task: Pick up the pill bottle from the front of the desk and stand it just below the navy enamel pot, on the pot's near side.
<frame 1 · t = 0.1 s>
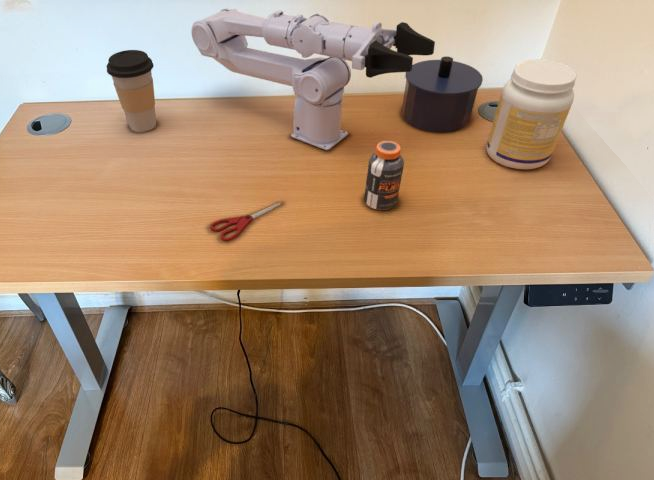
hand: (422, 56, 88), 22 cm above the table, tool horizontal, fingers open, 7 cm apart
scissors: (249, 221, 95), on the table
pot: (435, 115, 118), on the table
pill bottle: (380, 202, 97), on the table
coffee cup: (143, 126, 118), on the table
pot lid: (443, 77, 111), point 8 cm above the table, touching pot
supplement tub: (516, 155, 106), on the table
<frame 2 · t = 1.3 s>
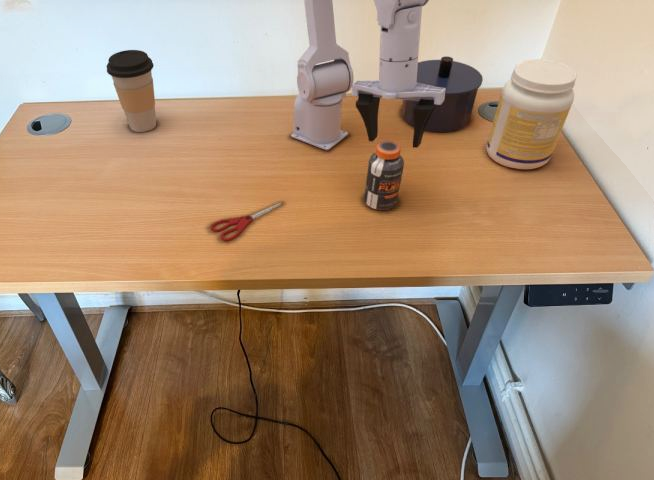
hand: (394, 142, 89), 12 cm above the table, tool pointing down, fingers open, 7 cm apart
nothing on the table moved.
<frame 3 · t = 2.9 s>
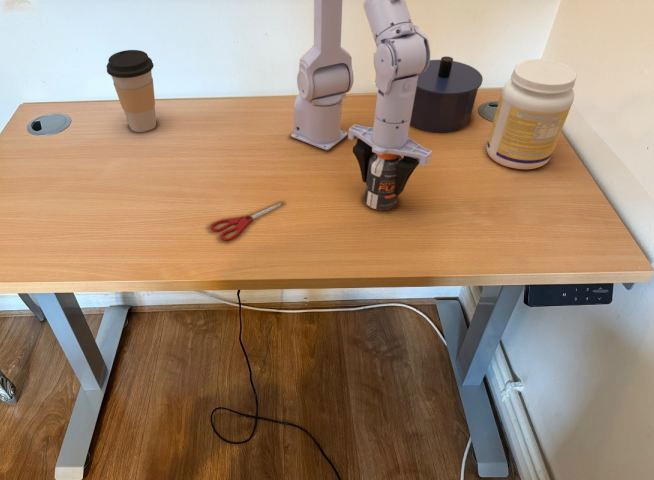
hand: (382, 185, 94), 3 cm above the table, tool pointing down, fingers closed on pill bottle, 6 cm apart
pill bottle: (380, 202, 97), on the table, touching gripper
everything else where it was.
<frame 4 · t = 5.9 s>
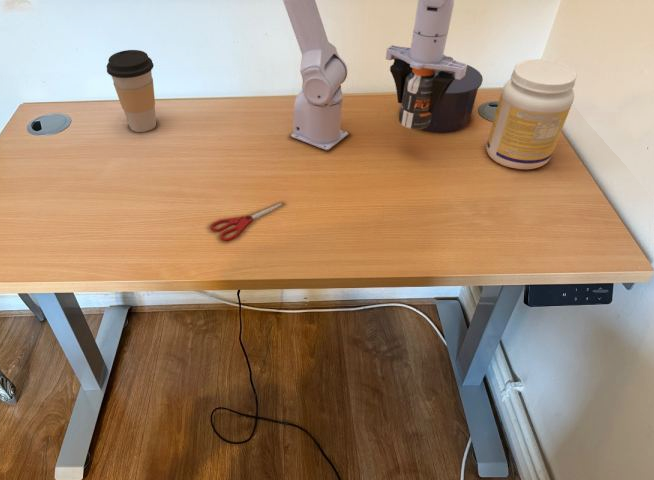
hand: (417, 105, 100), 10 cm above the table, tool pointing down, fingers closed on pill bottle, 6 cm apart
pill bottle: (414, 123, 102), point 7 cm above the table, touching gripper
everything else where it was.
when the fingers open (3 cm above the table, at t = 8.9 s): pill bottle stays where it is, on the table.
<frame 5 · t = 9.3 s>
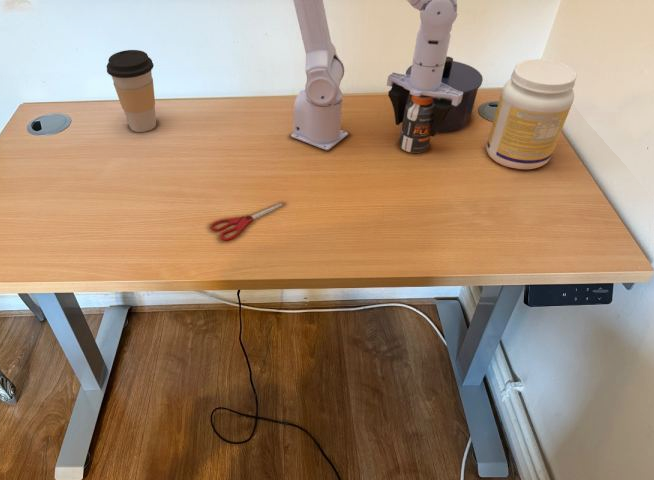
hand: (416, 128, 106), 4 cm above the table, tool pointing down, fingers open, 7 cm apart
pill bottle: (413, 146, 109), on the table
everything else where it was.
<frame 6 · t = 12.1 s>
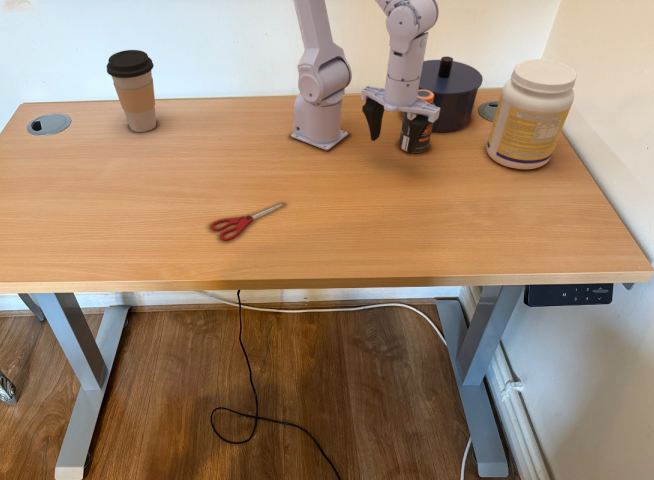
hand: (392, 144, 100), 5 cm above the table, tool pointing down, fingers open, 7 cm apart
nothing on the table moved.
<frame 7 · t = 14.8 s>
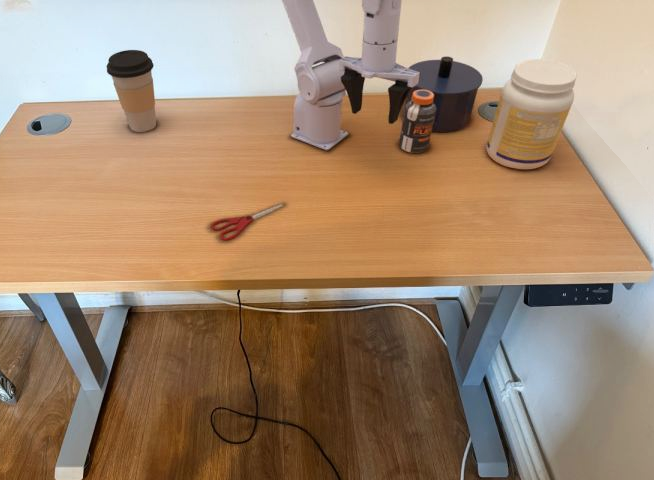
hand: (374, 116, 97), 10 cm above the table, tool pointing down, fingers open, 7 cm apart
nothing on the table moved.
at the end: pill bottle inside the target area on the table beside the pot (0.7 cm from its centre), on the table; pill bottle tilted 0°; the gripper is holding nothing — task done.
